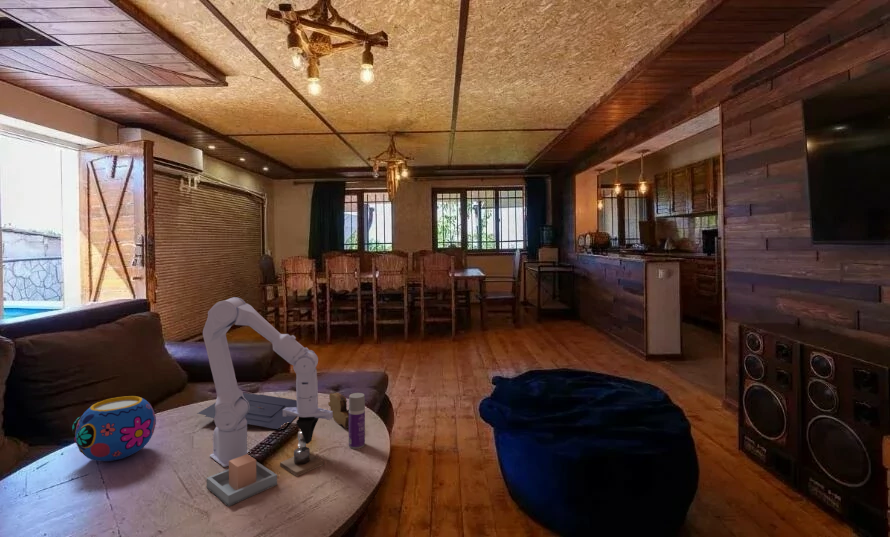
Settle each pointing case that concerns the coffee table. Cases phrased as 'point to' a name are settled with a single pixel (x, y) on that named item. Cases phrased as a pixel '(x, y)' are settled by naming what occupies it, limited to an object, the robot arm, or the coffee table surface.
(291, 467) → the crank base
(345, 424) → the wooden carving
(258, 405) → the dark grey flat slab
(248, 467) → the block
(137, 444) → the ceramic pot
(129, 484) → the coffee table surface
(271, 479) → the tray
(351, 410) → the container
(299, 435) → the crank
